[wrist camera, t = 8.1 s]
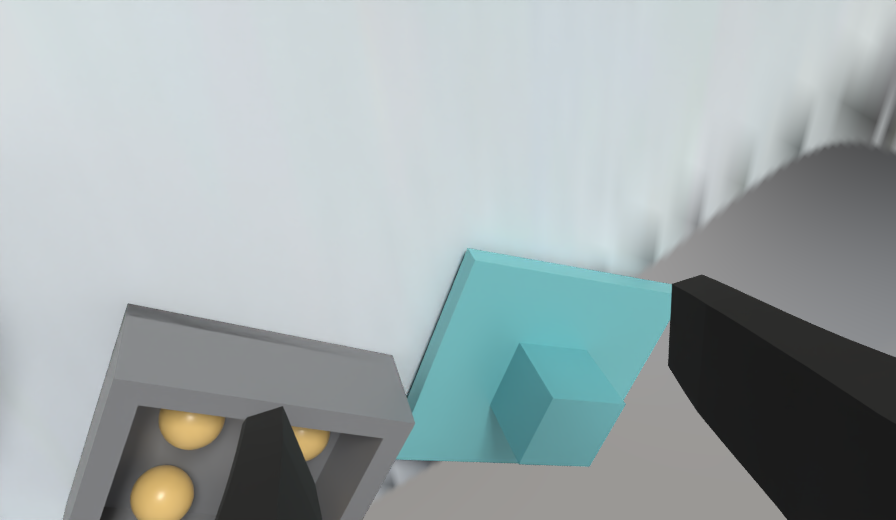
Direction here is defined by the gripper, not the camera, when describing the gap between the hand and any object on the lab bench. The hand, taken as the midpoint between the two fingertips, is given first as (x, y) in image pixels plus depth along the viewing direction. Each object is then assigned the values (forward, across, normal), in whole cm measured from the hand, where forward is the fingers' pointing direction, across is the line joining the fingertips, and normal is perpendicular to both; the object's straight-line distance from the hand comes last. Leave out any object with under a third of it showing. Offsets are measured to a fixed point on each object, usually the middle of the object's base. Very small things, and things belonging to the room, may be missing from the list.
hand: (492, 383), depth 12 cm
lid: (+10, -4, +10) cm, 15 cm away
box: (+10, +7, +9) cm, 16 cm away
